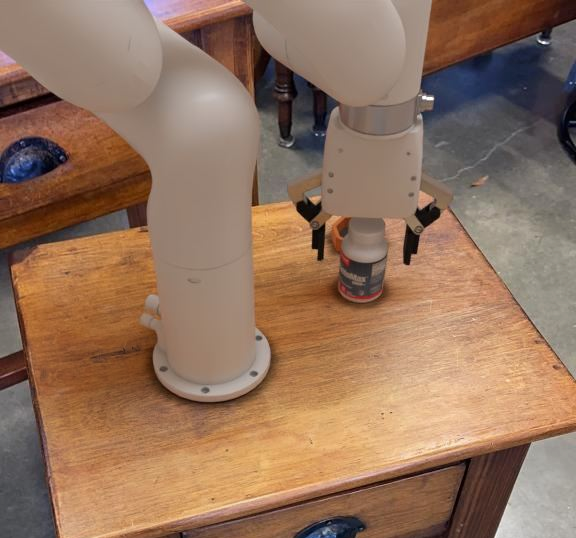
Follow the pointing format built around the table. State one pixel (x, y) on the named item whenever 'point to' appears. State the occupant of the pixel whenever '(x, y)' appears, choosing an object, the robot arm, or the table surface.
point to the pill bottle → (363, 260)
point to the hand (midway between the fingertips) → (363, 255)
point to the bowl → (340, 231)
